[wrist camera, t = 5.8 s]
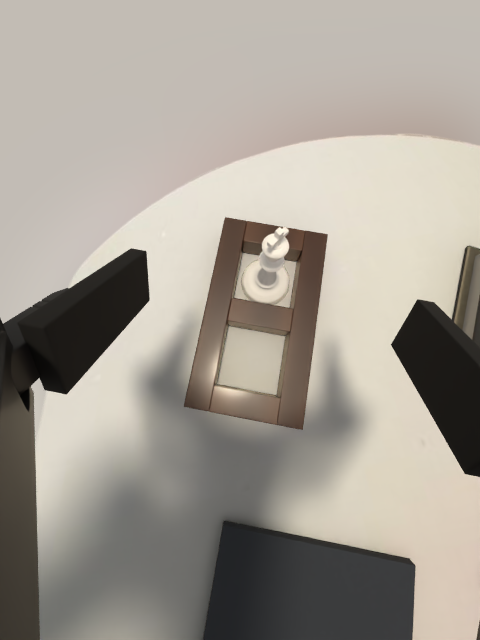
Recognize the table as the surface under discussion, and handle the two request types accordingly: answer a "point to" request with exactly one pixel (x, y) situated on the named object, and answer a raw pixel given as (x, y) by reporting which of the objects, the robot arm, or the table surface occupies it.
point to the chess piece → (268, 271)
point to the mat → (306, 590)
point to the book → (469, 296)
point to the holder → (259, 327)
